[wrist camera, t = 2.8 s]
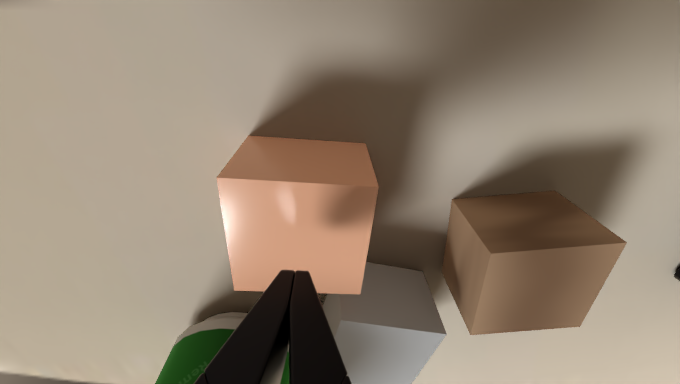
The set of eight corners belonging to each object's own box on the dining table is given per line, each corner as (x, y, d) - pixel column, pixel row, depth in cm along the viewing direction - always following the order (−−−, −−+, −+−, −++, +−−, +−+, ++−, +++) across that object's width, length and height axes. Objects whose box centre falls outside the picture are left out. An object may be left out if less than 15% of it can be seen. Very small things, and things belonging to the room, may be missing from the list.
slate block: (422, 269, 16) (446, 334, 13) (393, 322, 19) (407, 389, 15) (338, 255, 16) (340, 320, 12) (319, 312, 18) (317, 380, 15)
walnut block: (552, 189, 14) (627, 242, 10) (527, 263, 16) (580, 326, 13) (450, 197, 14) (490, 253, 10) (441, 270, 16) (470, 335, 13)
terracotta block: (365, 142, 12) (378, 186, 9) (353, 232, 15) (360, 294, 11) (249, 134, 12) (216, 177, 9) (257, 228, 15) (234, 290, 11)
